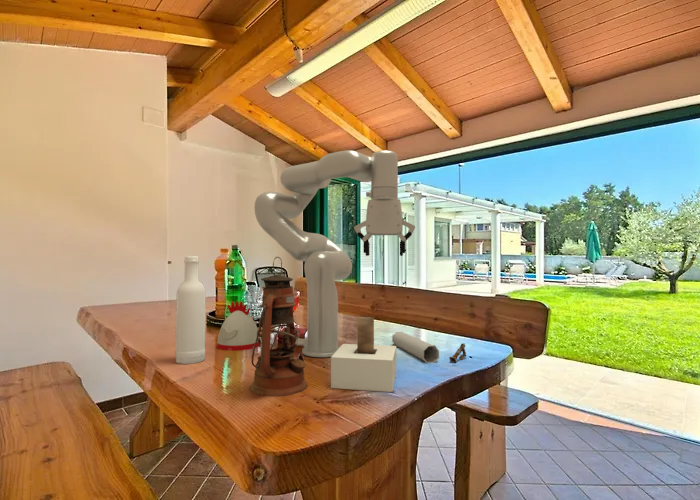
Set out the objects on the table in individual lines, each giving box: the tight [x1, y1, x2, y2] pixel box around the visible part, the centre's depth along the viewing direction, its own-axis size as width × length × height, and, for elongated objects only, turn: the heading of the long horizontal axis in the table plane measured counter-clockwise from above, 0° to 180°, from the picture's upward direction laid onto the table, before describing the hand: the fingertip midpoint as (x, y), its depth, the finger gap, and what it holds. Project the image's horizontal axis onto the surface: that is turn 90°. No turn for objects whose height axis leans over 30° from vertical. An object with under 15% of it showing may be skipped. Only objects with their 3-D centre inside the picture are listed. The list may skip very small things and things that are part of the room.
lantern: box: [250, 256, 308, 397], centre depth 90 cm, size 17×13×30 cm
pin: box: [356, 316, 375, 354], centre depth 94 cm, size 4×4×12 cm
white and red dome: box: [216, 300, 260, 352], centre depth 130 cm, size 14×14×15 cm
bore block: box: [330, 343, 397, 393], centre depth 94 cm, size 14×14×7 cm
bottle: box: [175, 255, 207, 365], centre depth 111 cm, size 8×8×30 cm
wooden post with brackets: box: [449, 342, 467, 364], centre depth 113 cm, size 2×8×4 cm, turn 137°
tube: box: [391, 331, 440, 364], centre depth 122 cm, size 5×5×25 cm
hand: (384, 255), depth 110 cm, fingers open, 9 cm apart
